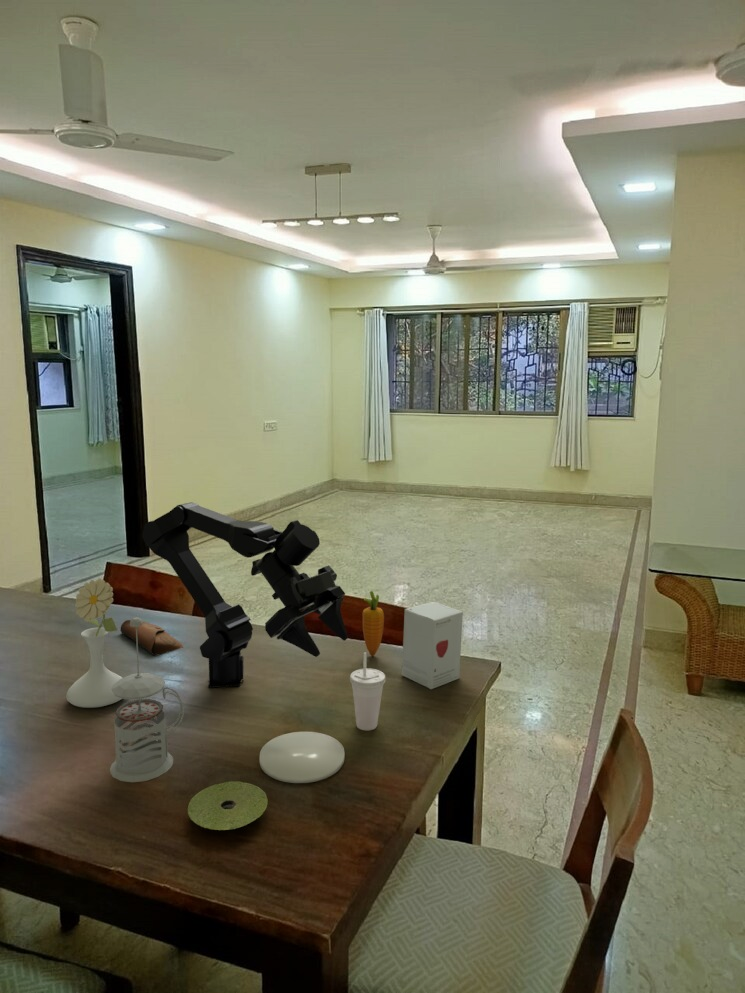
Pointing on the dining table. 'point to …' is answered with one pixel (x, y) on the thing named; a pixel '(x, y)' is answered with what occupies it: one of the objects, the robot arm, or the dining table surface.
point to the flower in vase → (95, 648)
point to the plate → (302, 757)
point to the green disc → (227, 805)
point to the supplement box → (432, 644)
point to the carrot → (372, 624)
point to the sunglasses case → (151, 637)
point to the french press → (141, 726)
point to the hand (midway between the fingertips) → (332, 647)
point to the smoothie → (367, 695)
